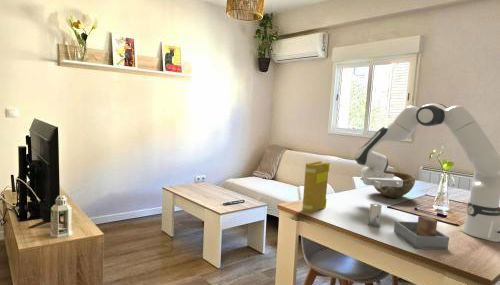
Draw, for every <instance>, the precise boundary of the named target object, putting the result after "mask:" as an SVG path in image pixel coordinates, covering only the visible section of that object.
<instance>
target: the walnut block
mask: <svg viewBox="0 0 500 285" xmlns="http://www.w3.org/2000/svg"><path fill="white" fill-rule="evenodd" d="M417 222H418V225H417V234H416V235H417V236H435V235H436V230H437V226H438V220H437V219H435V218H434V217H432V216H423V215H421V216H420V215H419V216H418V218H417Z"/></svg>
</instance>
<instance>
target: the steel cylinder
mask: <svg viewBox="0 0 500 285" xmlns="http://www.w3.org/2000/svg"><path fill="white" fill-rule="evenodd" d="M368 215H369V216H368V226H369V227H371V226H372V228H380V226H381V225H380V224H381V215H382V205H381V204H379V203H370V204H369V214H368Z"/></svg>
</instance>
